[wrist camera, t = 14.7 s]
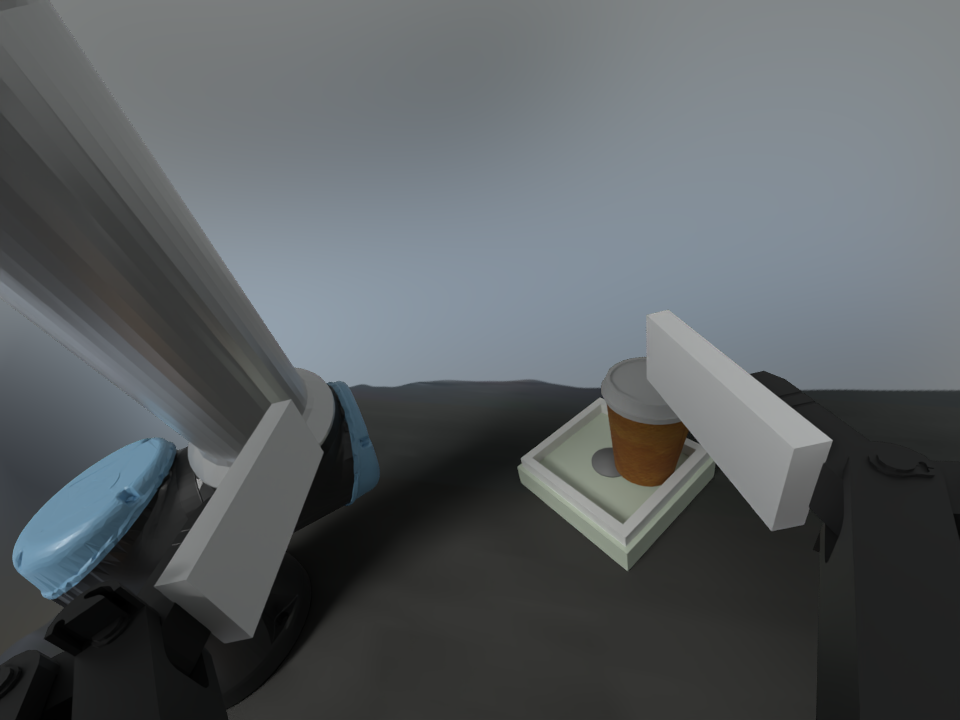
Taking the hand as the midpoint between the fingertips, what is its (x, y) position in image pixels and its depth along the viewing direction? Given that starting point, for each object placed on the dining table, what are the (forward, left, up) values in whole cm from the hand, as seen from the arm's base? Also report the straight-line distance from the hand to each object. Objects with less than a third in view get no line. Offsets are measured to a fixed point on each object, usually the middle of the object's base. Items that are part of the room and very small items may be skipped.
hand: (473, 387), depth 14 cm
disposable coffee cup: (-8, +22, -29) cm, 37 cm away
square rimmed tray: (-11, +20, -32) cm, 39 cm away
